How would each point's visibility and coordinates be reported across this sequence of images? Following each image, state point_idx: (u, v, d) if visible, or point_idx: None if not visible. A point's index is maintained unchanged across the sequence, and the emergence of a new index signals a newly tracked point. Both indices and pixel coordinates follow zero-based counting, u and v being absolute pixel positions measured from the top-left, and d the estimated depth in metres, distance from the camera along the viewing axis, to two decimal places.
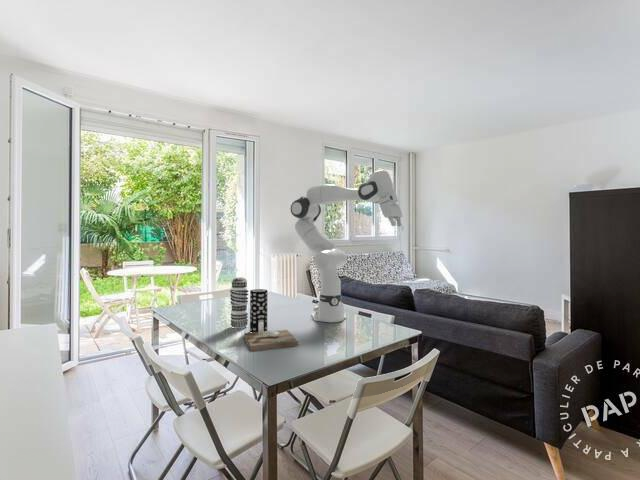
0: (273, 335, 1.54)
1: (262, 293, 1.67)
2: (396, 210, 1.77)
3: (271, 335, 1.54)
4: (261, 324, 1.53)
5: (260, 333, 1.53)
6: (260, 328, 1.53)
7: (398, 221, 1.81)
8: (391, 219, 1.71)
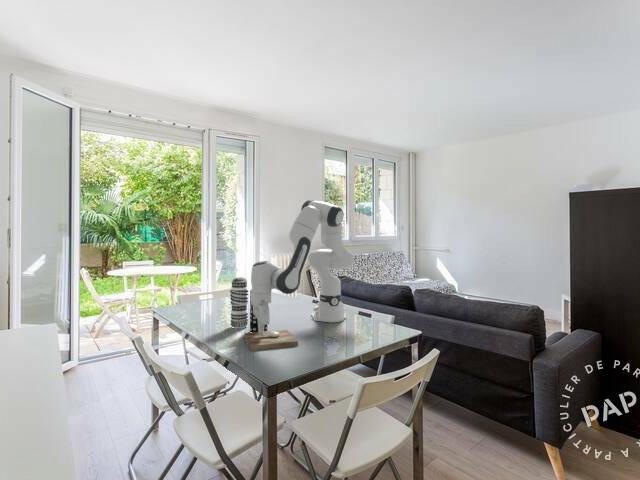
0: (273, 335, 1.54)
1: None
2: (257, 313, 1.52)
3: (271, 335, 1.54)
4: None
5: (260, 333, 1.53)
6: None
7: None
8: None
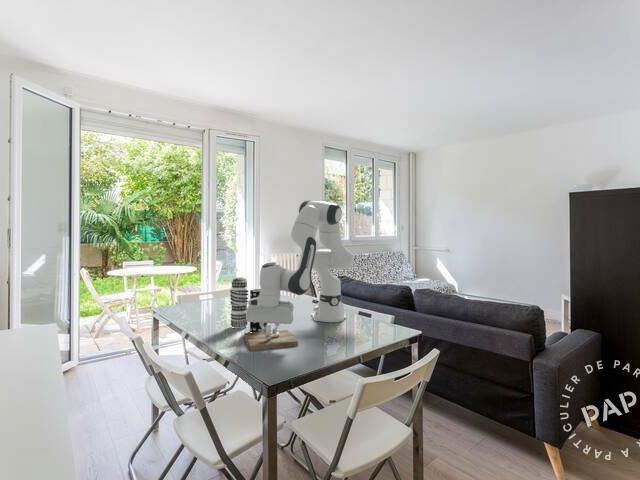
0: (277, 335, 1.55)
1: None
2: (271, 316, 1.48)
3: (275, 335, 1.54)
4: (270, 326, 1.50)
5: (269, 335, 1.50)
6: (269, 330, 1.50)
7: (275, 327, 1.50)
8: None
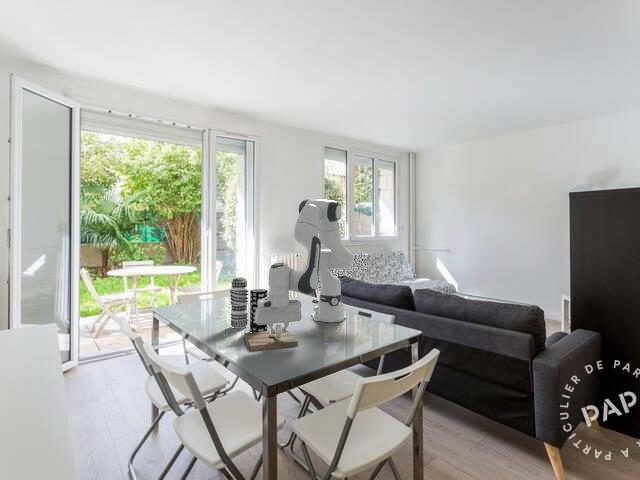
0: None
1: (262, 293, 1.67)
2: (283, 315, 1.49)
3: None
4: None
5: (280, 335, 1.51)
6: (280, 330, 1.50)
7: (285, 326, 1.52)
8: (269, 326, 1.49)
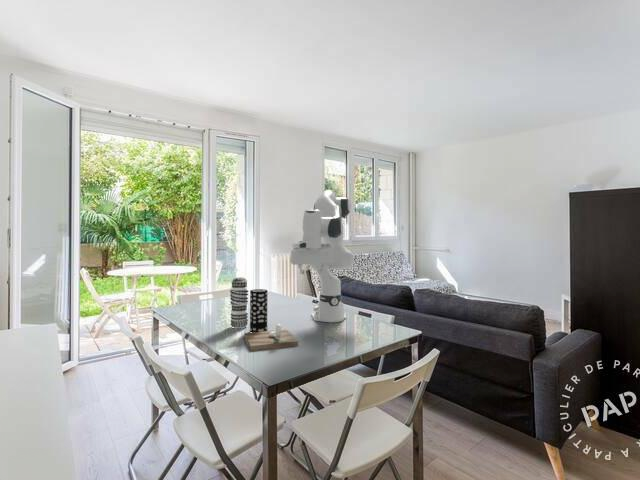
0: None
1: (262, 293, 1.67)
2: (316, 257, 1.62)
3: None
4: None
5: (280, 335, 1.51)
6: (280, 330, 1.50)
7: (321, 267, 1.66)
8: (299, 267, 1.61)
